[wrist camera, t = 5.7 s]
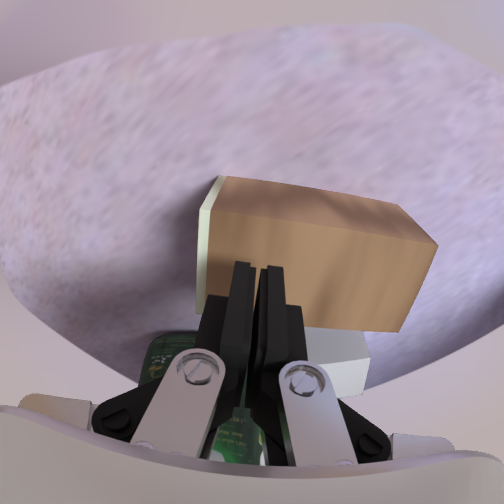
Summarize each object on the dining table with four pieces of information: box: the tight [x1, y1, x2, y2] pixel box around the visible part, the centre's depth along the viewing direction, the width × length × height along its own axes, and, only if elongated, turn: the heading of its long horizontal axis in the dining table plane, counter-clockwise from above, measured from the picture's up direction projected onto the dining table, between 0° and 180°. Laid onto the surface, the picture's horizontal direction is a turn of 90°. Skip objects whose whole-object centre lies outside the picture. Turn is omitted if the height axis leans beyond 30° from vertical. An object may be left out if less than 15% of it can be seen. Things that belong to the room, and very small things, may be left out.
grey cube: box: [304, 327, 371, 398], centre depth 19 cm, size 4×4×4 cm
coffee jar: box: [138, 333, 265, 466], centre depth 14 cm, size 10×8×19 cm
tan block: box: [196, 175, 438, 333], centre depth 14 cm, size 5×5×10 cm
